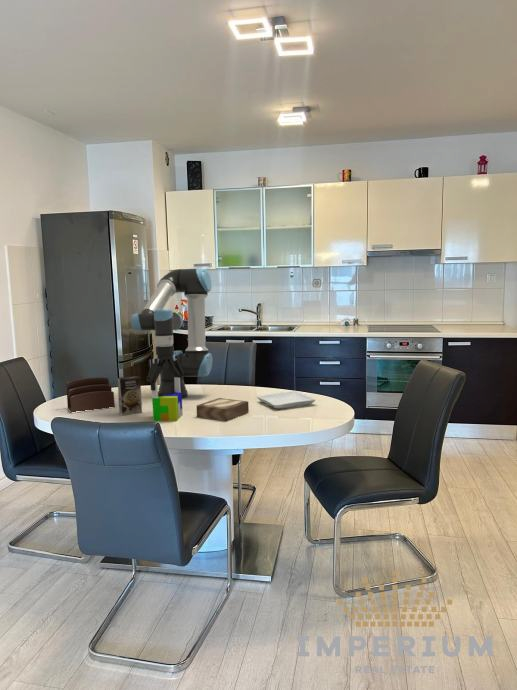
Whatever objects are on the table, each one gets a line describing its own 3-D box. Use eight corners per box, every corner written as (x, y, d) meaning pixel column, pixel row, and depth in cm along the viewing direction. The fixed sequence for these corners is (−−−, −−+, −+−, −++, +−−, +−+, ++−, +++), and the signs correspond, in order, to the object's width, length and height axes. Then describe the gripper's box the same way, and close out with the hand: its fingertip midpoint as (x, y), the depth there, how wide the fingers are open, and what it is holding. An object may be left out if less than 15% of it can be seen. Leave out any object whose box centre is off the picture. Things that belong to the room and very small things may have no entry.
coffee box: (122, 415, 225) (119, 379, 223) (119, 412, 230) (116, 377, 228) (142, 412, 229) (140, 377, 227) (139, 409, 234) (137, 375, 233)
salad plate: (275, 412, 224) (274, 404, 224) (256, 402, 244) (255, 395, 243) (317, 406, 233) (316, 398, 232) (295, 397, 252) (295, 390, 252)
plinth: (196, 416, 219) (196, 405, 218) (219, 408, 232) (219, 397, 231) (226, 421, 210) (226, 409, 209) (248, 412, 223) (248, 401, 222)
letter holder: (67, 409, 240) (65, 380, 239) (110, 403, 250) (108, 375, 248) (71, 413, 232) (68, 383, 230) (115, 407, 241) (113, 378, 239)
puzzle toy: (182, 415, 223) (181, 392, 221) (176, 421, 213) (175, 397, 212) (160, 415, 224) (159, 393, 222) (153, 421, 214) (152, 398, 213)
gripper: (149, 348, 202) (151, 401, 204) (191, 343, 223) (192, 390, 225) (136, 348, 206) (138, 399, 208) (178, 342, 227) (179, 389, 229)
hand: (166, 395), depth 217 cm, fingers open, 13 cm apart
